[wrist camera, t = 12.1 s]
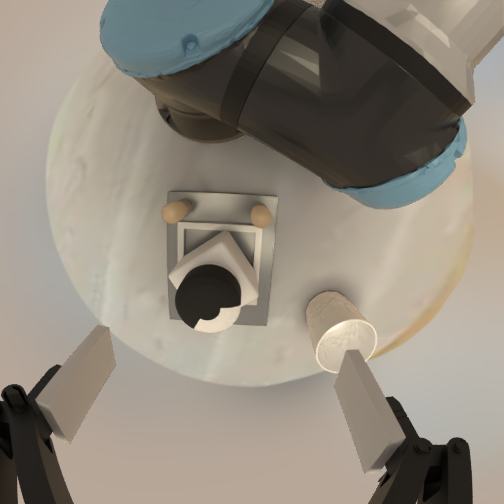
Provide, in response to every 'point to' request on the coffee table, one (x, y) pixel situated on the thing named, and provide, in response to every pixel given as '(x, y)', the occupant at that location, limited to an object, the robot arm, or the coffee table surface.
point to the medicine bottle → (213, 284)
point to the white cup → (338, 330)
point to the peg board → (213, 223)
